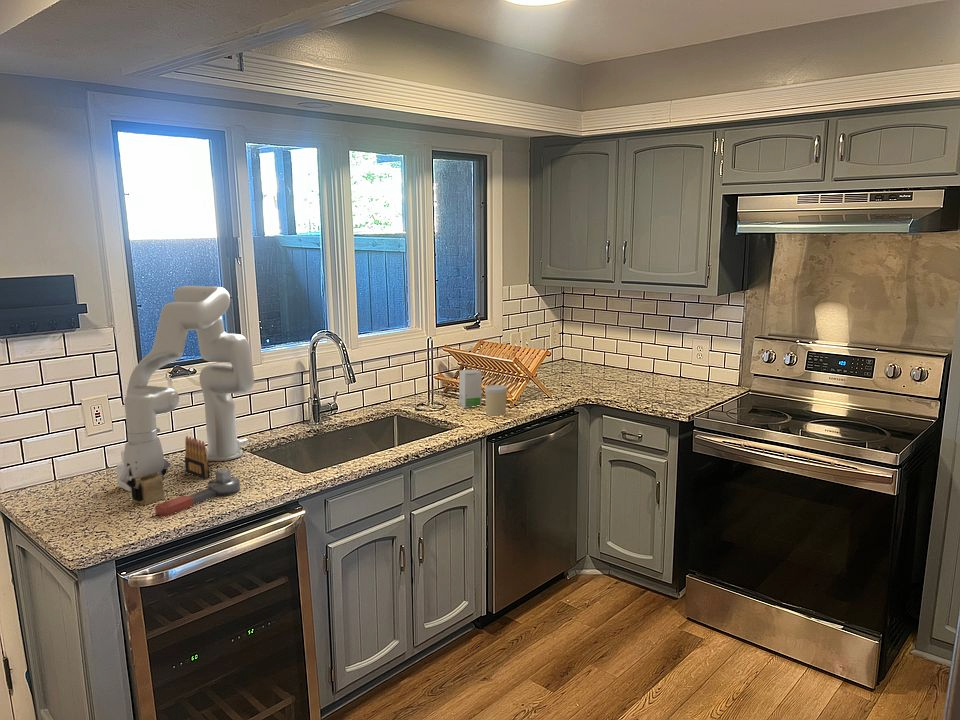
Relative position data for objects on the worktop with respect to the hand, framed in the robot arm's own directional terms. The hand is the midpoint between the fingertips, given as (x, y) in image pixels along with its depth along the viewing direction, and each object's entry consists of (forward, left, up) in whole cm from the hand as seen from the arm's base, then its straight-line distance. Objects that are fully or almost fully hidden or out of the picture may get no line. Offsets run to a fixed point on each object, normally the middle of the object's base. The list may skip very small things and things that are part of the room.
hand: (147, 496), depth 208 cm
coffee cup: (-130, +42, -1) cm, 137 cm away
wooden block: (0, 0, -1) cm, 1 cm away
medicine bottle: (-5, -13, -1) cm, 14 cm away
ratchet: (-8, +13, -1) cm, 15 cm away
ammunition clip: (-21, -5, -1) cm, 22 cm away
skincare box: (-138, +25, -1) cm, 140 cm away
